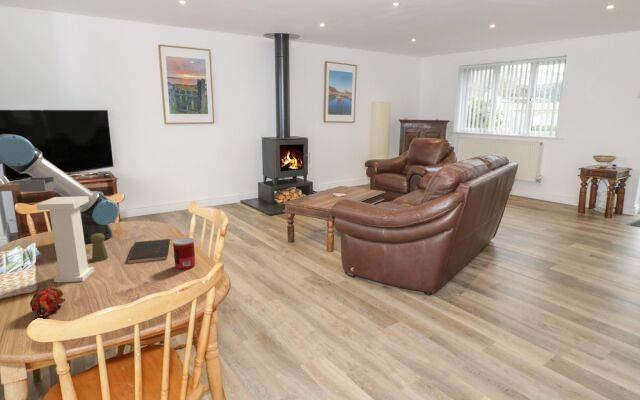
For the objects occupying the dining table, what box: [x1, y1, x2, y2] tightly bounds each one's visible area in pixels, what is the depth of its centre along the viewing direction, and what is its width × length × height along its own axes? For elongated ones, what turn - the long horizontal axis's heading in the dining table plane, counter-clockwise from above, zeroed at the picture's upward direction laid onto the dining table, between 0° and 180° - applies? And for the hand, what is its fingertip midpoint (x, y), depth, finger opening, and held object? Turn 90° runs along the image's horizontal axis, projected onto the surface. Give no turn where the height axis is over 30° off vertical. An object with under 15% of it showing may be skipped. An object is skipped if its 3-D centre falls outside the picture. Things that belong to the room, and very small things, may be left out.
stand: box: [36, 196, 95, 283], centre depth 147 cm, size 12×12×30 cm
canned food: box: [172, 237, 196, 271], centre depth 159 cm, size 8×8×11 cm
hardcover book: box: [126, 238, 171, 265], centre depth 176 cm, size 16×23×2 cm
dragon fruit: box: [29, 286, 66, 319], centre depth 123 cm, size 8×8×12 cm
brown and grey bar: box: [0, 176, 56, 193], centre depth 140 cm, size 22×7×4 cm, turn 98°
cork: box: [90, 233, 109, 262], centre depth 167 cm, size 6×6×11 cm
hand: (3, 179), depth 139 cm, fingers closed on brown and grey bar, 2 cm apart
